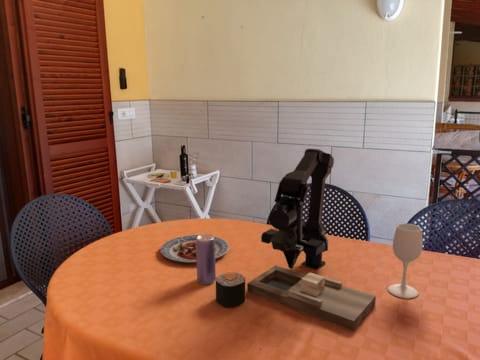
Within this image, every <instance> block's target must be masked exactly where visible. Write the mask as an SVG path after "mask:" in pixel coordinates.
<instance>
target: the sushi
mask: <svg viewBox="0 0 480 360" xmlns="http://www.w3.org/2000/svg"><path fill="white" fill-rule="evenodd" d="M215 301H216V303H217V304H218V305H219V306H221V307H223V308H227V309H231V308H237V307H240V306H242V305H244V304H245V303H246V276H244V275H243V273H240V272H237V271H236V272H235V271H231V272H230V271H228V272H226V273H225V272H224V273H223V272H222V273H221V274H219V275H218V276H216V279H215Z"/></svg>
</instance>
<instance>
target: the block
mask: <svg viewBox="0 0 480 360" xmlns="http://www.w3.org/2000/svg"><path fill="white" fill-rule="evenodd" d="M324 284H325V276H322V275H320V274H315V273H312V272H308V273H307V274H306V276H304V277H303V278H302V279H301V291H302V292H305V293H308V294H311V295H314V296H317V295H319V294H320V293H321V292H322V291H323V290H324Z"/></svg>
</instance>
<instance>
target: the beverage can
mask: <svg viewBox="0 0 480 360" xmlns="http://www.w3.org/2000/svg"><path fill="white" fill-rule="evenodd" d="M198 235H199V236H197V240H196V259H197V262H196V280H197V282H198V283H199V284H200V285H211V284H213V283H214V282H216V277H217V276H216V259H215V239H214V237H215V236H214V235H212V234H209V233H208V234H207V233H206V234H198Z"/></svg>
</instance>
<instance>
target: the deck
mask: <svg viewBox="0 0 480 360" xmlns="http://www.w3.org/2000/svg"><path fill="white" fill-rule="evenodd" d="M306 275H307V274H305V273H302V272H299V271H297V270H293V269H291V268H286V267H283V266H281V265H276V264H275V265H274V266H272V267H270V268H269V269H268V270H266V271H264V272H262V273H261V274H259V275H258V276H256V277H255V278H253V279H251V280H250V281H248V282H247V283H246V284H247V285H246V286H247V288H246V289H247V290H246V291H247V293H249V294H251V295H253V296H257V297H259V298H262V299H265V300H267V301H270V302H273V303H274V304H275V303H276V304H278V305H281V306H283V307H286V308H289V309H292V310H294V311H297V312H300V313H302V314H305V315H308V316H311V317H314V318H316V319H319V320H321V321H324V322H327V323H329V324H332V325H335V326H336V327H337V326H338V327H341V328H342V329H346V330H348V331H351V332H354V331H355V330H356V329H357V327H359V326H360V324H361V323H362V322H363V321H364V320H365V318H366V317H367V316H368V315H369V313H370V312H371V311H372V310H373V309H374V307H375V306H376V302H377V301H376V298H377V296H376V295H374V294H371V293H367V292H364V291H362V290H361V291H360V290H357V289H355V288H351V287H348V286H344V285H343V282H342V281H339V280H335V279H333V278H329V277H325V276H324V277H325V284H324V290H323V291H322V292H321V293H320V294H319V295H317V296H314V295H311V294H308V293H305V292H302V291H301V279H302V278H303V277H304V276H306Z"/></svg>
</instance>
